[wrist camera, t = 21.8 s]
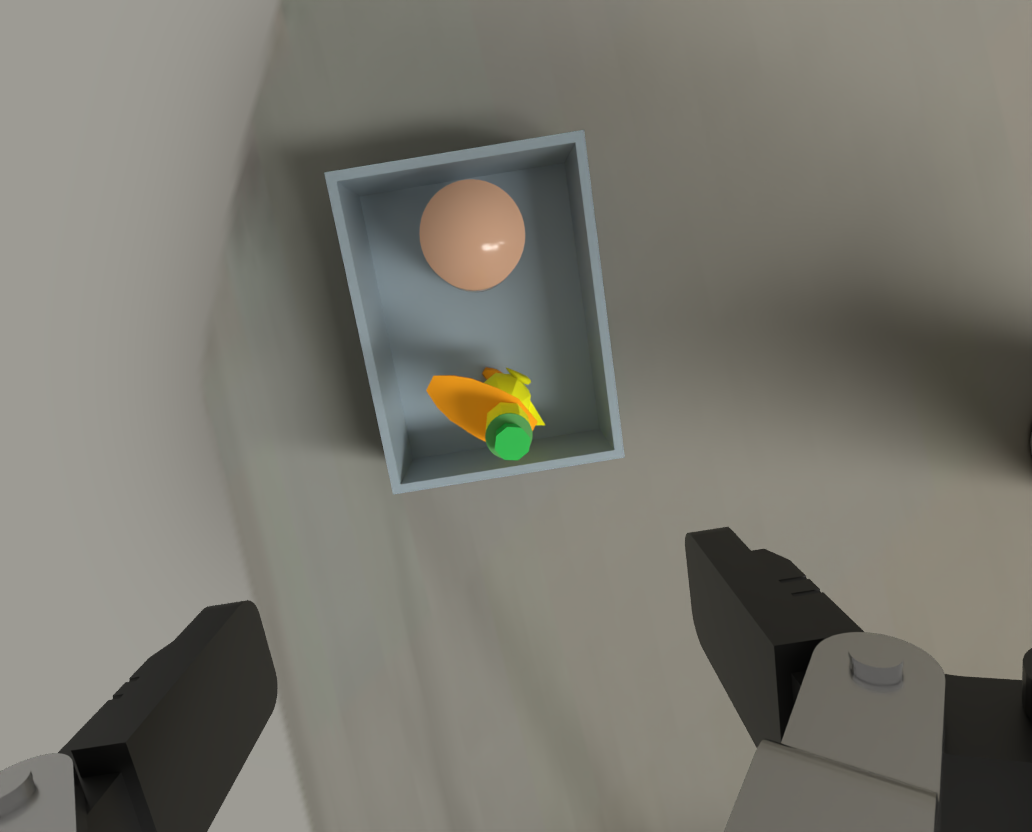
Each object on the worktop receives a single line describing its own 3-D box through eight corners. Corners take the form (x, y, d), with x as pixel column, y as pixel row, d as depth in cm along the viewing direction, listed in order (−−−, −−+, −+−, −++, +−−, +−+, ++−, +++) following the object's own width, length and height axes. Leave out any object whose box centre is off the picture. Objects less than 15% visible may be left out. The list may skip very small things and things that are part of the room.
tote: (570, 153, 35) (584, 129, 29) (607, 433, 38) (624, 457, 33) (351, 189, 35) (324, 172, 29) (408, 465, 38) (393, 494, 33)
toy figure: (429, 383, 37) (403, 434, 25) (456, 331, 36) (441, 359, 24) (525, 431, 38) (543, 502, 26) (553, 382, 37) (583, 432, 25)
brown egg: (489, 188, 35) (492, 158, 28) (531, 266, 36) (543, 255, 29) (415, 232, 35) (399, 213, 28) (459, 307, 36) (453, 307, 29)
